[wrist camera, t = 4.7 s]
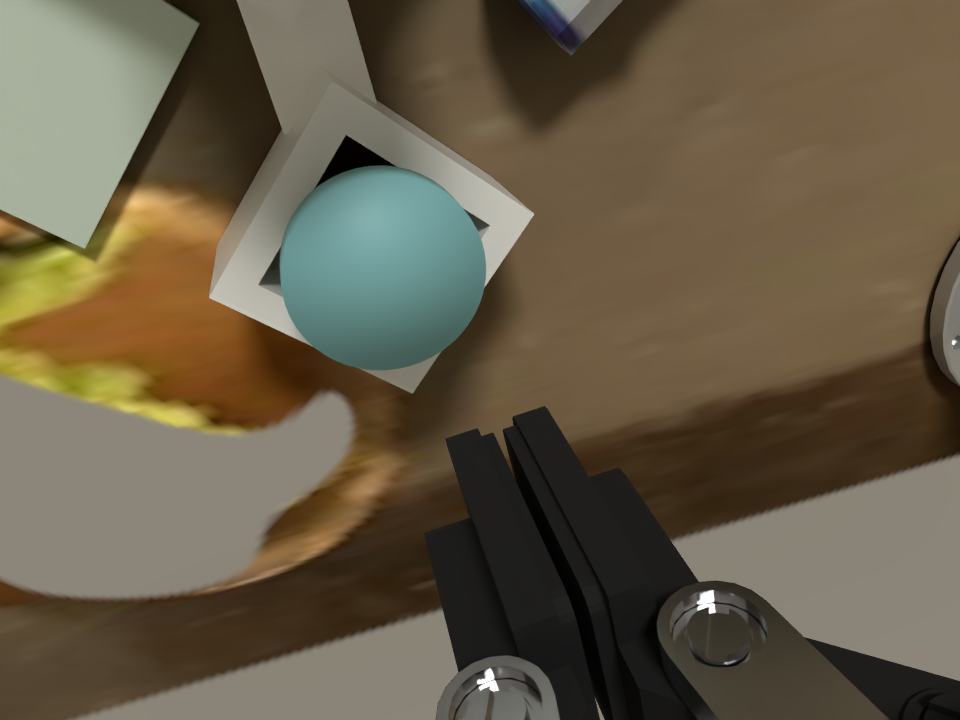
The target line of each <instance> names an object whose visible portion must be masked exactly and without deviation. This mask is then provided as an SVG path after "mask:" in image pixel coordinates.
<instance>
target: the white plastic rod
mask: <svg viewBox="0 0 960 720" xmlns="http://www.w3.org/2000/svg"><path fill="white" fill-rule="evenodd" d="M516 1H517V2H518V3H519V4H520V5H521V6H522V7H523V8H524V9H525V11H526V12H527V13H528V14H529V15H530V16H531V17H532V18H533V19H534V21H535V22H536V23H537V24H538V25H539V26H540V27H541V28H542V29H543V30H544V31H545V32H546V33H547V34H548V35H549V36H550V37H551V38H552V39H553V40H554V41H555V42H556V43H557V44H558V45H559V46H560V47H561V48H562V49H564V50H565V51H566V52H568V53H569V54H570V55H572V54H573V53H574V52H575V51H576V50H577V49H578V48H579V47H580V46H581V45H582V44H583V42H584V41H585V40H586V39H587V38H588V37H589V36H590V35H591V34H592V33H593V32H594V31H595V30H596V29H597V27H598V26H599V25H600V24H601V23H602V22H603V21H604V20H605V19H606V18H607V17H608V16H609V15H610V13H611V12H612V11H613V10H614V9H615V8H616V7H617V6H618V5H619V4H620V3H621V2H622V1H623V0H516Z"/></svg>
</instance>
